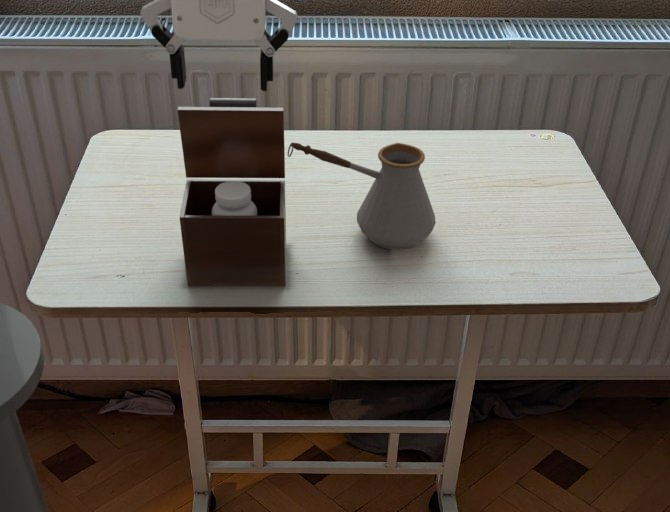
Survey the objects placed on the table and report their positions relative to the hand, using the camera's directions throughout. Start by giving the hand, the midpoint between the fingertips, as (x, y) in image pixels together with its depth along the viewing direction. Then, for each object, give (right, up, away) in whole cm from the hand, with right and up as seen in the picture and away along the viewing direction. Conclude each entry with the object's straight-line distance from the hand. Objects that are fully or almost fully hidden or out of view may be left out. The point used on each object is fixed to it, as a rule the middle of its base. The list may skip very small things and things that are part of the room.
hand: (223, 85), depth 98 cm
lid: (0, -4, +10) cm, 11 cm away
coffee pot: (+17, -13, +24) cm, 32 cm away
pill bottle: (0, -18, +18) cm, 25 cm away
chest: (0, -18, +18) cm, 26 cm away
